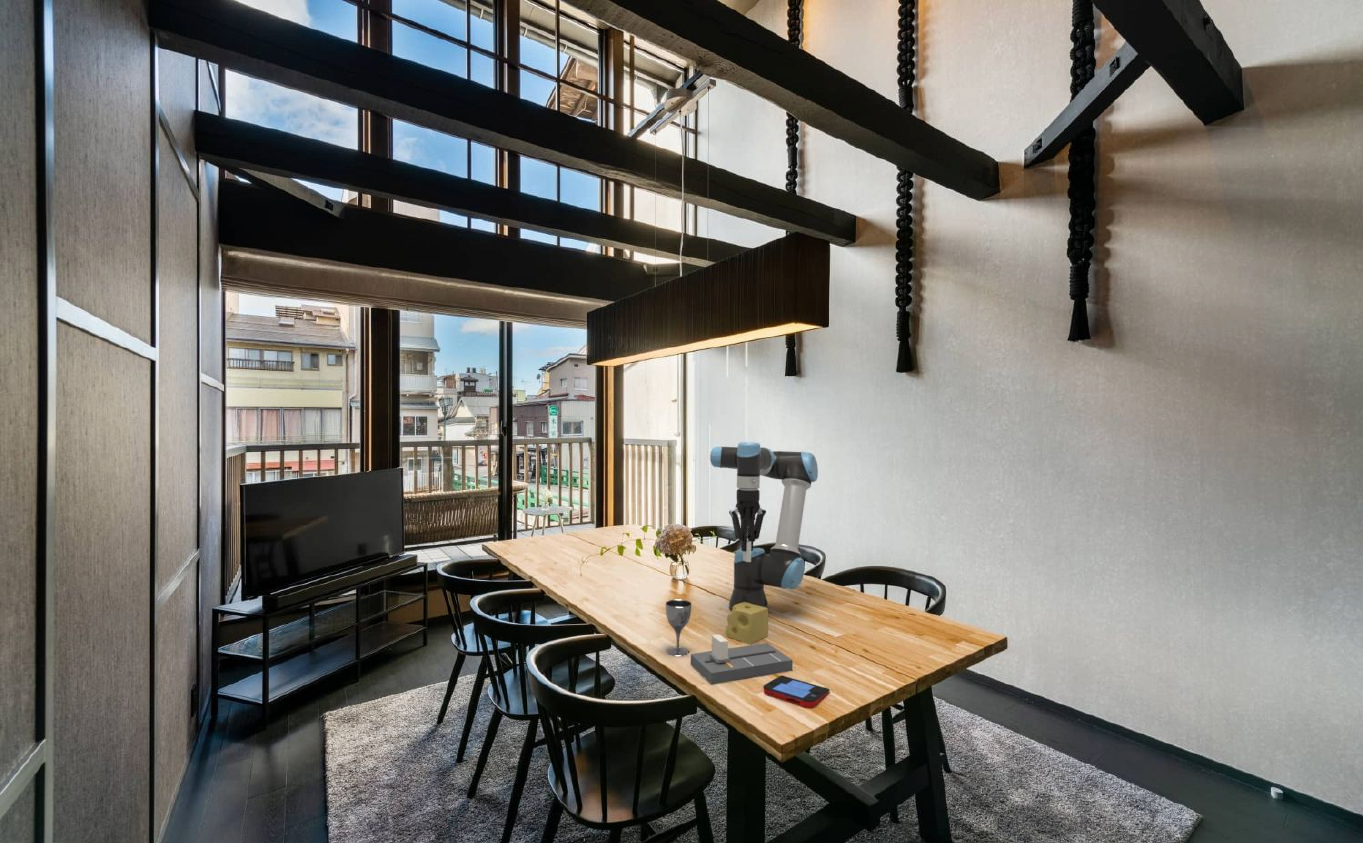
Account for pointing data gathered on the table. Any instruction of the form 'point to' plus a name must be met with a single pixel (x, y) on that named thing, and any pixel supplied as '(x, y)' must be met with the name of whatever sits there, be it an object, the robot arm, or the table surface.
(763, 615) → the cheese
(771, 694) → the red and black smartphone
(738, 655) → the board
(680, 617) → the wine glass
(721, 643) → the fader
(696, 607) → the table surface
